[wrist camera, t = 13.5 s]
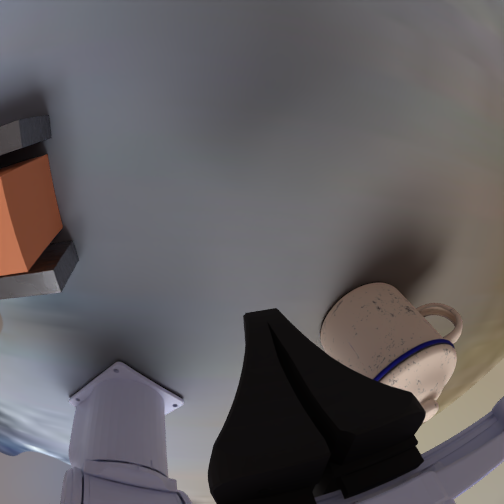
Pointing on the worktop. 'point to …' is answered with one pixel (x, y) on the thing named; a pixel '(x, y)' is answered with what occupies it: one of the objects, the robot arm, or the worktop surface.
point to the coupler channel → (55, 255)
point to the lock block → (26, 214)
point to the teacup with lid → (393, 341)
